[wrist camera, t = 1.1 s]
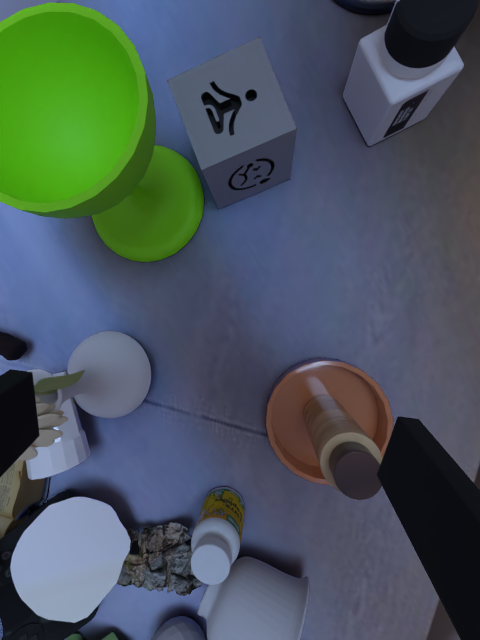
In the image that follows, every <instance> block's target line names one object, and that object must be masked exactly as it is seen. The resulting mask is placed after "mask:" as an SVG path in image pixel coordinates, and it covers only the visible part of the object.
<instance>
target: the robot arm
mask: <svg viewBox="0 0 480 640" xmlns="http://www.w3.org/2000/svg"><path fill="white" fill-rule="evenodd" d="M335 1H336V2H337V3H339V4H340V5H342V6H344V7H345V8H347V9H350V10H352V11H355V12H359V13H364V14H382V13H387V12H391V11H392V10H393V7H394V5H395V2H396V0H335ZM39 436H40V434H39V425H38V417H37V408H36V399H35V390H34V382H33V373H32V372H27V371H18V370H9V371H7V372H6V373H4V374H3V375H1V376H0V477H1V476H2V475H3V474H4V473H5V472H6V471H7V470H8V469H9V468H10V467H11V466H12V465H13V463H14V462H15V461H16V460H17V459H18V458H19V457H20V456H21V455H22V454H23V453H24V452H25V451H26V450H27V449H28V448H29V447H30V445H31V444H32V443H33V442H34V441H35V440H36V439H37V438H38V437H39ZM377 476H378V478H379V480H380V482H381V484H382V486H383V488H384V490H385V492H386V494H387V496H388V498H389V500H390V502H391V504H392V506H393V508H394V510H395V512H396V514H397V516H398V518H399V520H400V521H401V523H402V525H403V527H404V529H405V531H406V533H407V535H408V537H409V539H410V541H411V543H412V545H413V547H414V549H415V551H416V553H417V555H418V557H419V559H420V561H421V563H422V565H423V566H424V568H425V570H426V572H427V574H428V576H429V578H430V580H431V582H432V584H433V586H434V588H435V590H436V592H437V594H438V596H439V598H440V600H441V602H442V604H443V605H444V608H445V610H446V612H447V613H448V615H449V617H450V619H451V621H452V623H453V625H454V627H455V629H456V631H457V633H458V635H459V637H460V639H461V640H480V490H479V489H478V488H477V487H476V485H475V484H474V483H473V482H472V481H471V480H470V478H469V477H468V476H467V475H466V474H465V473H464V471H463V470H462V469H461V468H460V467H459V466H458V464H457V463H456V462H455V461H454V460H453V459H452V457H451V456H450V455H449V454H448V453H447V452H446V450H445V449H444V448H443V447H442V446H441V445H440V444H439V442H438V441H437V440H436V439H435V438H434V437H433V435H432V434H431V433H430V432H429V431H428V430H427V428H426V427H425V426H424V425H423V424H422V423H421V421H420V420H419V419H414V418H406V417H398V418H397V420H396V423H395V426H394V429H393V431H392V434H391V437H390V439H389V442H388V445H387V448H386V450H385V453H384V456H383V459H382V461H381V464H380V467H379V470H378V472H377Z"/></svg>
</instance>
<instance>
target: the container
mask: <svg viewBox="0 0 480 640" xmlns="http://www.w3.org/2000/svg"><path fill="white" fill-rule="evenodd" d="M477 3H478V0H396V2H395V5H394V7H393V10H392V13H391V15H390V18H389V20H388V23H387V25H385V26H384V27H382V28H380V29H378V30H376V31H374V32H373V33H371V34H369V35H367V36H365V37H363V38H362V39H360V41H359V44H358V47H357V50H356V53H355V57H354V60H353V63H352V66H351V70H350V73H349V76H348V79H347V83H346V86H345V89H344V92H343V98H344V100H345V102H346V104H347V106H348V108H349V110H350V112H351V114H352V116H353V118H354V120H355V122H356V124H357V126H358V128H359V130H360V132H361V134H362V136H363V138H364V140H365V142H366V143H367V145H368V146H372V145H374V144H376V143H378V142H380V141H382V140H384V139H386V138H388V137H390V136H392V135H394V134H396V133H398V132H400V131H402V130H404V129H406V128H408V127H410V126H412V125H414V124H415V123H417V122H419V121H421V120H423V119H425V118H426V117H427V116H428V114H429V113H430V112H431V110H432V109H433V108H434V106H435V105H436V104H437V102H438V101H439V100H440V98H441V97H442V96H443V94H444V93H445V92H446V90H447V89H448V87H449V86H450V85H451V83H452V82H453V81H454V79H455V78H456V77H457V75H458V74H459V73H460V71H461V70H462V69H463V66H464V64H463V62H462V60H461V58H460V56H459V54H458V52H457V51H456V49H455V47H454V46H455V44H456V43H457V41H458V40H459V38H460V37H461V35H462V34H463V32H464V31H465V29H466V27H467V26H468V24H469V23H470V21H471V20H472V18H473V16H474V14H475V12H476V8H477Z"/></svg>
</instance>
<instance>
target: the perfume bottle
mask: <svg viewBox="0 0 480 640" xmlns="http://www.w3.org/2000/svg"><path fill="white" fill-rule="evenodd" d="M151 640H206V639H205V635H204V633H203V631H202V630H201V628H200V626H199V625H198V624H197V623H196V622H195V621H194V620H192V619H190V618H188V617H186V616H178V617H174V618H171V619H170V620H168V621H166V622H165V623H163V624H162V625H161V627H160V628H159V629H158V630H157V631H156V632H155V634H154V636H153V638H152V639H151Z"/></svg>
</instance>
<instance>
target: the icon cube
mask: <svg viewBox="0 0 480 640" xmlns="http://www.w3.org/2000/svg"><path fill="white" fill-rule="evenodd" d="M167 81H168V84H169V87H170V89H171V92H172V94H173V97H174V100H175V102H176V105H177V108H178V110H179V113H180V115H181V118H182V121H183V123H184V126H185V129H186V131H187V134H188V136H189V139H190V142H191V144H192V147H193V149H194V152H195V155H196V157H197V160H198V163H199V165H200V168H201V170H202V173H203V175H204V177H205V179H206V182H207V184H208V186H209V189H210V191H211V193H212V195H213V198H214V200H215V202H216V204H217V207H218V209H221V208H223V207H226V206H228V205H230V204H233V203H235V202H237V201H240V200H242V199H245V198H247V197H249V196H252V195H254V194H256V193H259V192H261V191H264V190H266V189H268V188H271V187H273V186H275V185H278V184H280V183H282V182H285V181H287V180H290V174H291V167H292V160H293V153H294V145H295V138H296V131H297V128H296V125H295V123H294V120H293V118H292V115H291V113H290V110H289V108H288V105H287V103H286V100H285V98H284V95H283V93H282V91H281V88H280V86H279V83H278V81H277V78H276V76H275V73H274V71H273V68H272V66H271V63H270V61H269V58H268V56H267V53H266V51H265V48H264V46H263V43H262V41H261V38H260V37H258V38H256V39H254V40H252V41H249V42H247V43H245V44H243V45H241V46H239V47H237V48H235V49H232V50H230V51H228V52H226V53H224V54H222V55H220V56H218V57H215V58H213V59H211V60H209V61H207V62H205V63H203V64H200V65H198V66H196V67H194V68H192V69H190V70H188V71H186V72H183V73H181V74H179V75H177V76H175V77H173V78H171V79H169V80H167Z"/></svg>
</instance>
